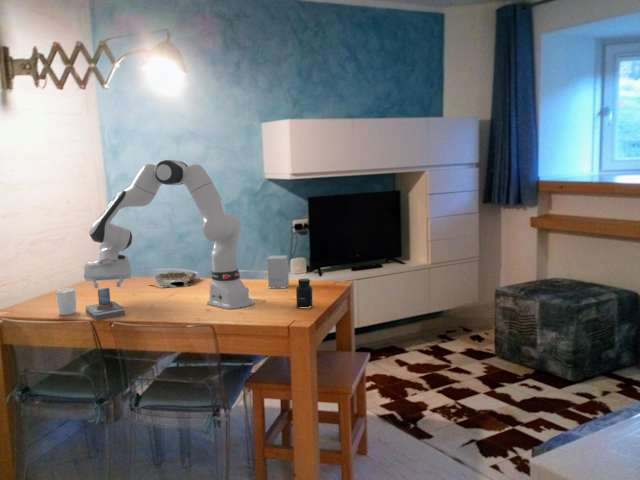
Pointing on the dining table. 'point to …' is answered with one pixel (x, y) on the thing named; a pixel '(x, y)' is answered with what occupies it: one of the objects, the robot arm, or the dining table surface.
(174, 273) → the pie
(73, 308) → the white cup
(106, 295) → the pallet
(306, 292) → the supplement bottle
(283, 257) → the supplement box
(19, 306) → the dining table surface
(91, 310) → the dock
